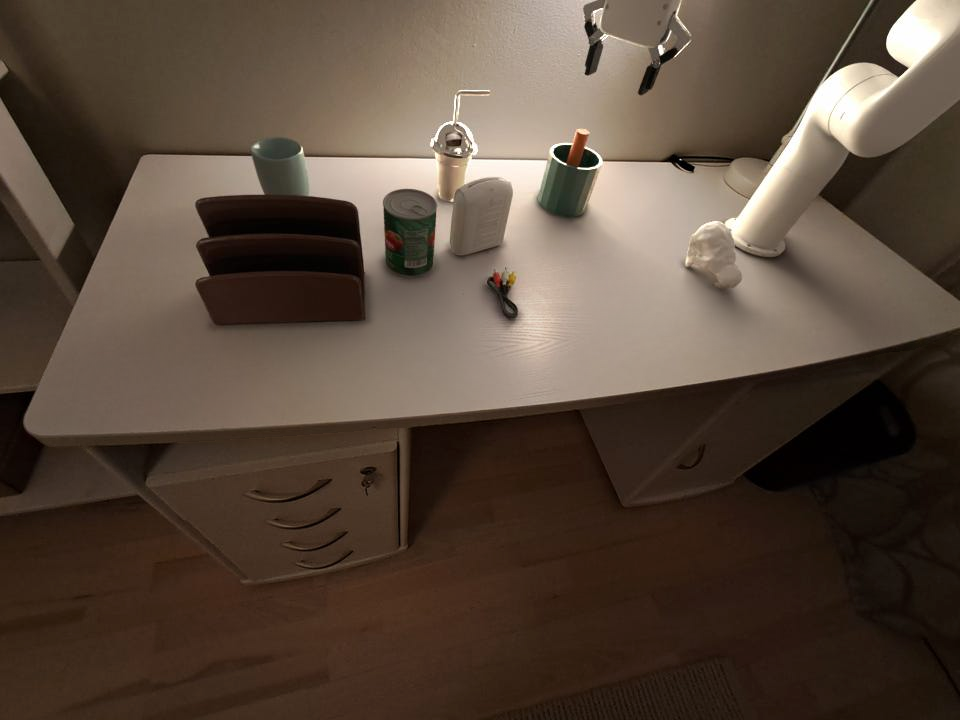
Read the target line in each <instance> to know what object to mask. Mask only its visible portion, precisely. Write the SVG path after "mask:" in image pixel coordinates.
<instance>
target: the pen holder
mask: <svg viewBox="0 0 960 720" xmlns="http://www.w3.org/2000/svg"><path fill="white" fill-rule="evenodd" d="M572 144H573V143H570V142H562V143H556V144H554V145H553V146H551V147H550V149H549V153H548V156H547V161H546V165H545V169H544V172H543V177H542V180H541V184H540V188H539V191H538V196H537V202H538V205H540V207H541V208H543V210H545V211H546V212H549V213H550V214H553V215H555V216H558V217H563V218H575V217H578V216H581V215H583V214H584V212H585V211H586V210H587V207H588V205H589V201H590V199H591V196H592V193H593V191H594V188H595V185H596V182H597V180H598V176H599V175H600V171H601V169H602V166H603V158H602V157H601V155H600V154H599V153H597V152H596V151H595V150H593V149H591V148H589V147H587V146H585V148H584V151H583V154H582V157H581V161H580V164H579V167H574V166H570V165H568V164H567V160H568V157H569V154H570V150H571V147H572Z"/></svg>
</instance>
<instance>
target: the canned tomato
mask: <svg viewBox="0 0 960 720" xmlns="http://www.w3.org/2000/svg"><path fill="white" fill-rule="evenodd" d="M382 206H383V231H384V249H385V251H384V253H385V266H386V268H387V269H388V271H390V272H391V273H392V274H394V275H396V276H398V277H402V278H406V279H407V278H408V279H414V278H420V277H423V276H426V275H427V274H429V273H430V272H431V271H432V269H433V267H434V264H435V263H434V259H435V258H434V257H435V243H436V242H435V240H436V227H437V211H438V210H437V209H438V202H437V200H436V199H435V198H434V197H433V195H432V194H430V193H427V192H425V191H423V190H420V189H415V188H400V189H395V190H392V191H390V192H388V193H387V194H386V195H385V196H384V197H383V200H382Z"/></svg>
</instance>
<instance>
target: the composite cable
mask: <svg viewBox="0 0 960 720" xmlns="http://www.w3.org/2000/svg"><path fill="white" fill-rule="evenodd" d="M515 273H516V271H515V270H512V272H511V273H510V272H509V270H508V267H507V266H505V267H504V269H503V271H502V272H501V276H500V273H499V271H497V269H496V268H494V269H493V273H492V276H489V277H487V279H486V281H485V283H486V285H487V287H488V288H489V289H490V290H491V291H493V293H494V294H495V295H496V296H497V297H498V298H499V301H500V306H501V311H502V313H503V315H504V317H506V318H507V319H509V320H513V319H516V318H517V317H518V315H519V309H518V306H517V304H515V302H514V301H512V300H511V299H509V297H508V295H509V293H510V291H511V288H512V286H513V285H514V284H515V282H516V278H517V275H516V274H515ZM492 283H493V284H494V285H496V286H494V285H493V284H492ZM506 305H507V306H508V307H509V308H510V310H512V313H511V312H509V311H508V310H507V307H506Z"/></svg>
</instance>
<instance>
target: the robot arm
mask: <svg viewBox="0 0 960 720" xmlns="http://www.w3.org/2000/svg"><path fill="white" fill-rule="evenodd" d="M682 1H683V0H594V1H591V2H588V3H586V4H584V5H583V7H582V11H583V12H582V13H583V21H584V24H583V25H584V26H583V28H584V31H585V33H586V36H587V43H588V45H589V48H588V51H587V55H586V59H585V62H584V67H585V70H584V76H586V77H588V76H591V75H593V74H595V73H596V72H597V71H598V66H599V64H600V60H601V57H602V54H603V49H604V43H603V40H605V39H606V38H607V37H611V38H614V39H617V40H619V41H623V42H625V43H629V44H631V45H635V46H638V47H641V48H644V49H648V53H649V57H650V60H651V61H650V64H649V65H647V67H646V69H645V71H644V74H643V77H642V79H641V82H640V84H639V88H638V91H637V94H638V96H643V95H645V94H647V93H648V92H649V91H651V90H652V89H653V88H654V85H655V84H656V80H657V78H658V76H659V73H660V70H661V68H662V65H664V64H666V63H667V62H669V61H671V60H672V59H674V58H676V57H677V56H678V55H679V54H680V53H681V52H682V51H683V50H684V49H685V48H686V47H687V46H688V44H689V43H690V42H691V41H692V39H693V37H692V34H691V33H690V31H689V30H688V29H687V27H686V26H685V25H684V23H683V22H682V21H681V20H680V18H679V17H678V14H679V11H680V7H681V3H682ZM600 10H602V11H601V15H600V20H599V28H598V25H597V22H596V20H595V18H596V17H595V15H596V12H597V11H600ZM671 33H672V35H673V36H674V37H675V38H676V41H675V43H674V44H673V46H672V47H671V48H670V49H668V50H666V49H665V43H667V41H668V40H669V38H670V36H671ZM885 45H886V50H887V52H888V54H889V55H890V56H891V57H892V58H893V59H894V60H895V61H897V62H898V63H900V64H901V65H903V66H905V67H906V68H908V69H907V70H906V71H904V73H902V75H900V76H897V75H895V74H894V73H892V72H891V71H890V70H888V69H886V68H885V67H882V66H880V65H878V64H876V63H870V62H855V63H852V64H849V65H847V66H844V67H842V68H840V69H838V70H837V71H835V72H834V73H833V74H831V75H830V76H829V77H828V78H827V79H826V80H824V82H823V83H822V84H821V85H820V86H819V88H818V90H816V92H815V93H814V96H813V97H812V99H811V101H810V103H809V105H808V108H807V109H806V112H805V113H804V116H803V118H802V120H801V121H800V124H799V126H798V127H797V129H796V130H795V133H794V134H793V135H792V137H791V139H790V140H789V142H788V144H787V145H786V146H785V148H784V149H783V151H782V153H781V154H780V156H779V157H778V158H777V159H776V161H775V162H774V164H773V165H772V167H771V168H770V170H769V172H768V173H767V175H765V177H764V179H763V180H762V182H761V183H760V185H759V186H758V188H757V189H756V190H755V192H754V193H753V194H752V196H751V198H750V199H749V201H747V204H746V205H745V207H744V208H743V209H742V211H741V213H740V214H739V215H738V216H737V217H731V218H728V219H727V220H726V221H725V223H724V224H725V225H726V226H727V227H728V228H729V230H730V231H731V233H732V237H733V239H734V243H735V247H736V248H738V249H740V250H742V251H744V252H746V253H748V254H751V255H754V256H758V257H762V258H775V257H777V256H780V255H782V254H783V252H784V251H785V250H786V242H785V240H784V238H785V236H787V235H788V233H789V232H790V230H791V229H792V228H793V226H795V224H796V223H797V222H798V220H799V219H800V218H801V217H802V216H803V215H804V213H805V212H806V211H807V210H808V208H809V207H810V206H811V205H812V203H813V202H814V201H815V200H816V198H817V197H818V196H819V194H821V192H822V191H823V189H824V188H825V187H826V186H827V185H828V183H829V182H830V181H831V180H832V179H833V178H834V177H835V175H836V174H837V173H838V171H839V170H840V169H841V168H842V166H843V164H844V163H845V161H846V159H847V157H848V156H849V153H852V154H853V155H856V156H858V157H860V158H875V157H880V156H883V155H886V154H888V153H890V152H893V151H894V150H896V149H898V148H899V147H902V146H903V145H905V144H906V143H907V142H909V141H910V140H912V139H913V138H914V137H915V136H917V135H919V133H921V132H922V131H923V130H924V129H926V128H927V127H929V125H931V124H932V123H933V122H934V121H935V120H937V119H938V118H939V117H940V116H941V115H942V114H944V113H945V112H946V111H948V110H949V109H951V107H952V106H954V105H956V103H957V102H959V101H960V0H915V1H914V2H913V3H912V4H911V5H910V6H909V7H908V8H907V9H906V10H905V11H904V12H903V14H902V15H901V16H900V17H899V18H898V19H897V20H896V21H895V23H894V24H893V25H892V27H891V28H890V29H889V32H888V35H887V37H886V43H885Z"/></svg>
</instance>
